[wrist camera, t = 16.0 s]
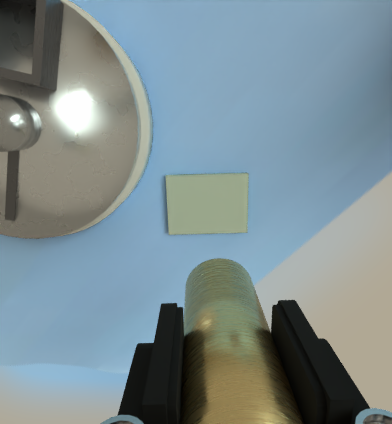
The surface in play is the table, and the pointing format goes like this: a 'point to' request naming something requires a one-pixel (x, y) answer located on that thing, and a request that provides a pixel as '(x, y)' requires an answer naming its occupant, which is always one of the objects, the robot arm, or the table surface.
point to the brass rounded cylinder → (230, 353)
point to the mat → (207, 203)
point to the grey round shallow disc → (61, 120)
